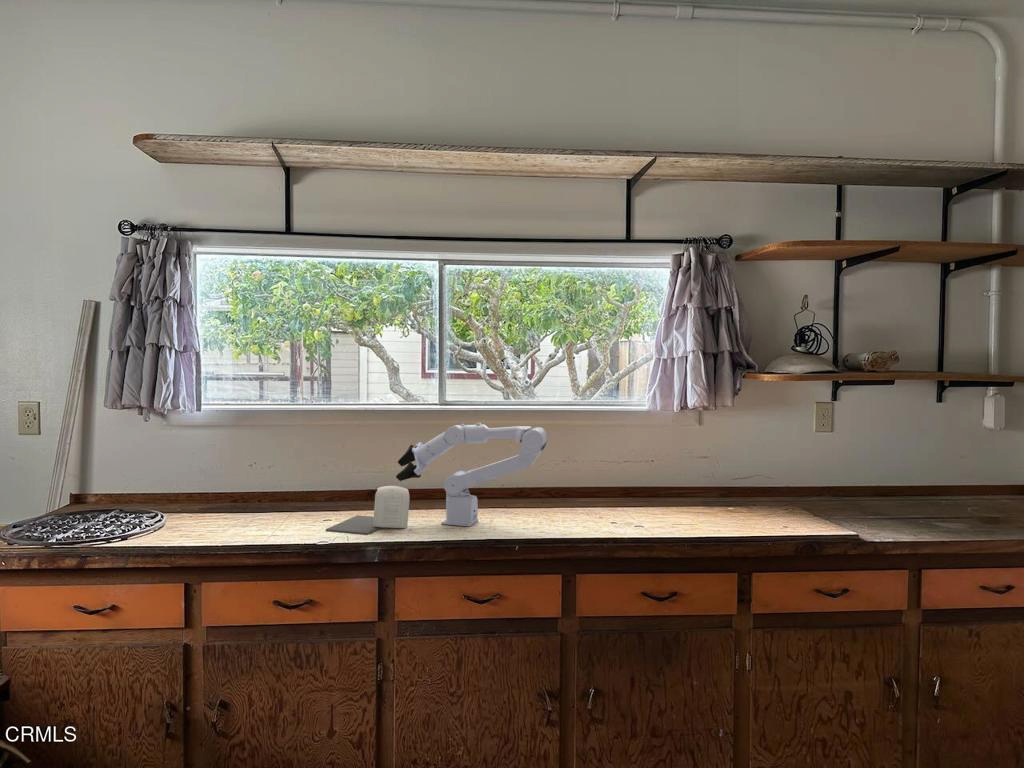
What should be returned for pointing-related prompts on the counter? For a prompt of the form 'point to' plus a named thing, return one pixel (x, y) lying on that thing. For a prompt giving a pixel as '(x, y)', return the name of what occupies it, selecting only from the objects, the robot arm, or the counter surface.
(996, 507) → the counter surface
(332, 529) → the mat
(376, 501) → the photo printer
